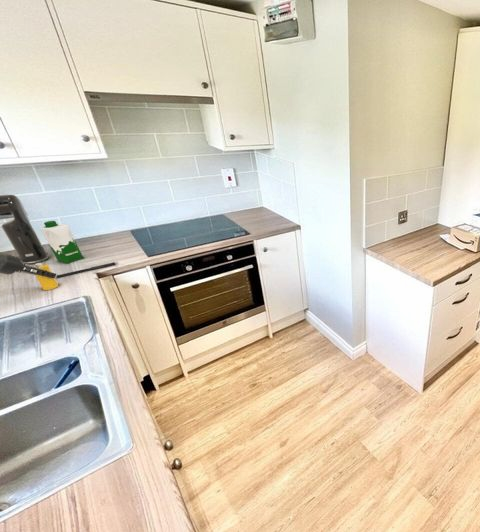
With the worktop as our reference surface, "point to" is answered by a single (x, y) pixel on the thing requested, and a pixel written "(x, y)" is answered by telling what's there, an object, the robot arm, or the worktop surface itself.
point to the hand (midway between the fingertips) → (50, 275)
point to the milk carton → (61, 242)
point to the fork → (87, 269)
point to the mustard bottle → (46, 278)
